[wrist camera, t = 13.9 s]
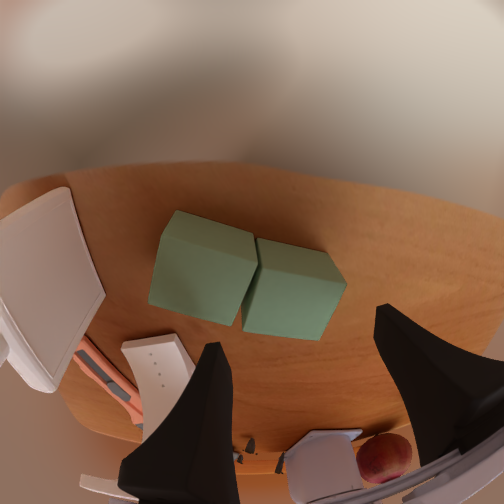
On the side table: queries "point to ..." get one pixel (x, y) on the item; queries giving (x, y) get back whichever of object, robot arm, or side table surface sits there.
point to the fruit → (384, 458)
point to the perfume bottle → (45, 288)
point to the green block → (202, 268)
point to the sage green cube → (291, 291)
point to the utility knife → (109, 379)
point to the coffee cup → (151, 390)
